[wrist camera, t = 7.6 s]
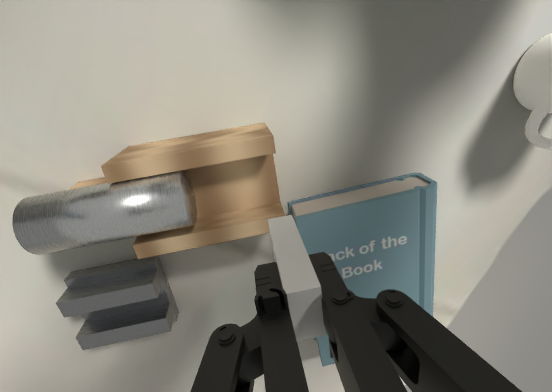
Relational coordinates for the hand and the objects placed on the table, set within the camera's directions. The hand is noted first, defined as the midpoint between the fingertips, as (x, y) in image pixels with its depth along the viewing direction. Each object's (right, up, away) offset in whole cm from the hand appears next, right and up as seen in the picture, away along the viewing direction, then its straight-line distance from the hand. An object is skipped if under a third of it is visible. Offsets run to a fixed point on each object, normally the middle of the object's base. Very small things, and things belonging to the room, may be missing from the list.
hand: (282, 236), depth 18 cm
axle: (-14, +1, +7) cm, 16 cm away
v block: (-19, -9, +18) cm, 28 cm away
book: (+11, -6, +22) cm, 26 cm away
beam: (-11, +4, +14) cm, 18 cm away
